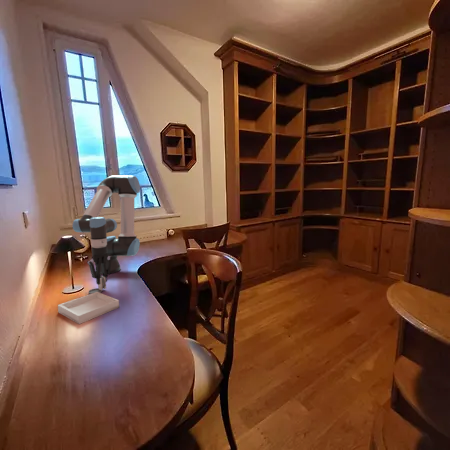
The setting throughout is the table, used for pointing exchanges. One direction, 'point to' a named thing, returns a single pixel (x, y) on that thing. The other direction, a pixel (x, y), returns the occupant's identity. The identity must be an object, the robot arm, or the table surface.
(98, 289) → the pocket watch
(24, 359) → the table surface
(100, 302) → the tray
